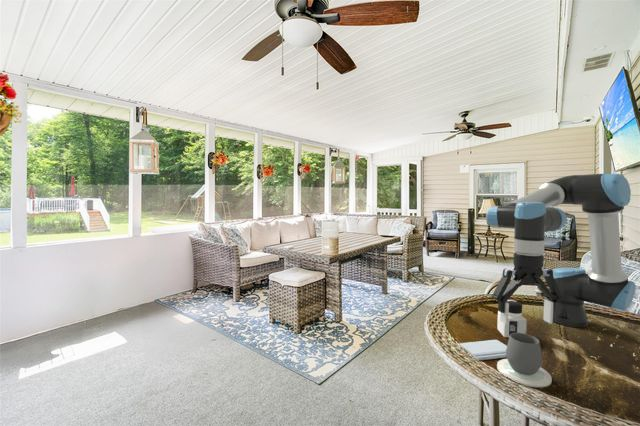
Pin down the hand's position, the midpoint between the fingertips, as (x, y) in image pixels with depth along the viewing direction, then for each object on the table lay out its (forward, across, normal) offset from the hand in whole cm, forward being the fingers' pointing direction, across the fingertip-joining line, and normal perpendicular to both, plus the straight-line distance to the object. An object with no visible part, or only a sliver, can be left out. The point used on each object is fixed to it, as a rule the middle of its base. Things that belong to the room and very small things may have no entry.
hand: (526, 322), depth 94 cm
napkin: (+16, +4, -14) cm, 21 cm away
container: (+17, -13, -27) cm, 34 cm away
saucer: (+16, +1, 0) cm, 16 cm away
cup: (+15, +1, 0) cm, 15 cm away
